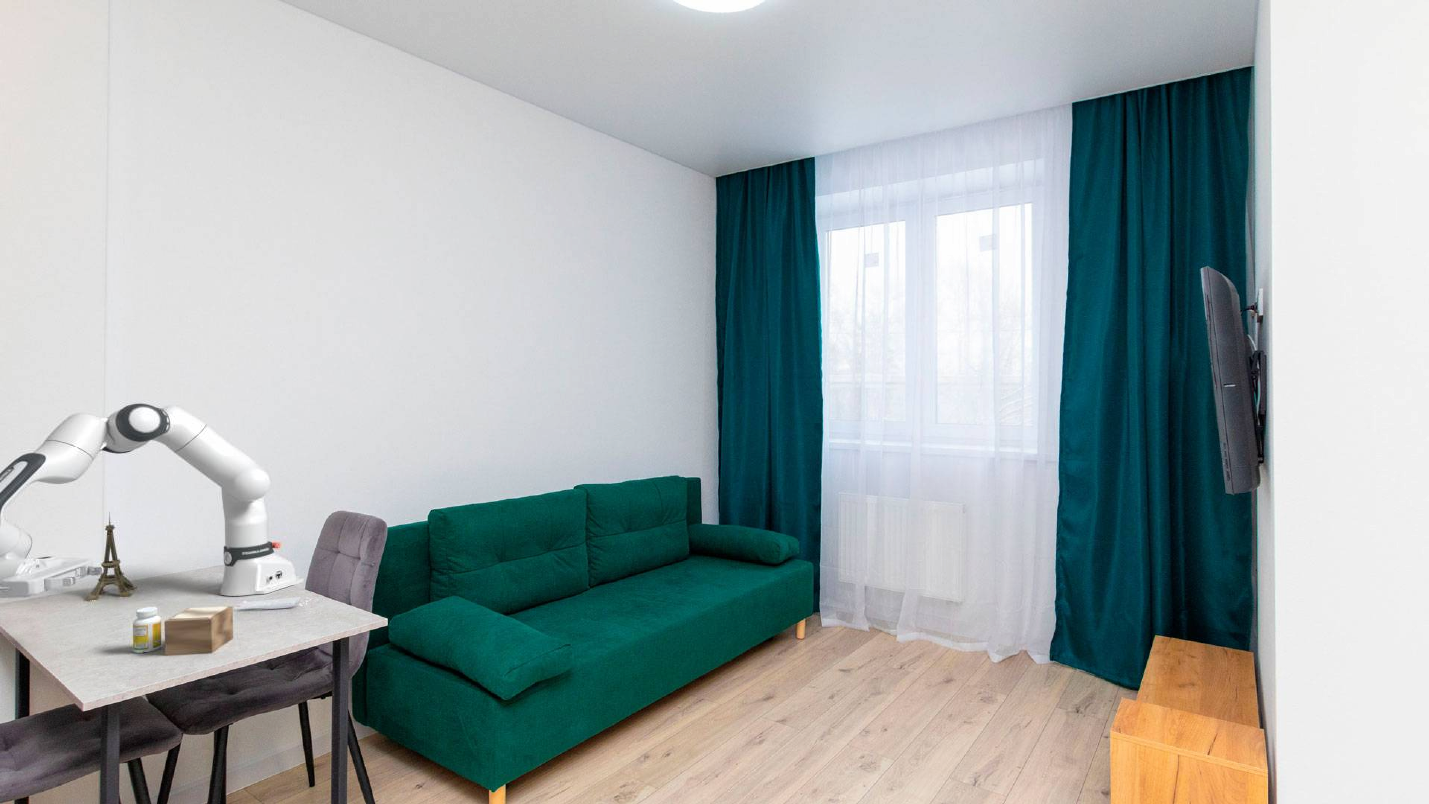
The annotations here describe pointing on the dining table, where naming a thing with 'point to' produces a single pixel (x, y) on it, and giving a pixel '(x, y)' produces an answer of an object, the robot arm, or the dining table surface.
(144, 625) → the supplement bottle
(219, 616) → the walnut block
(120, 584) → the eiffel tower
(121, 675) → the dining table surface
